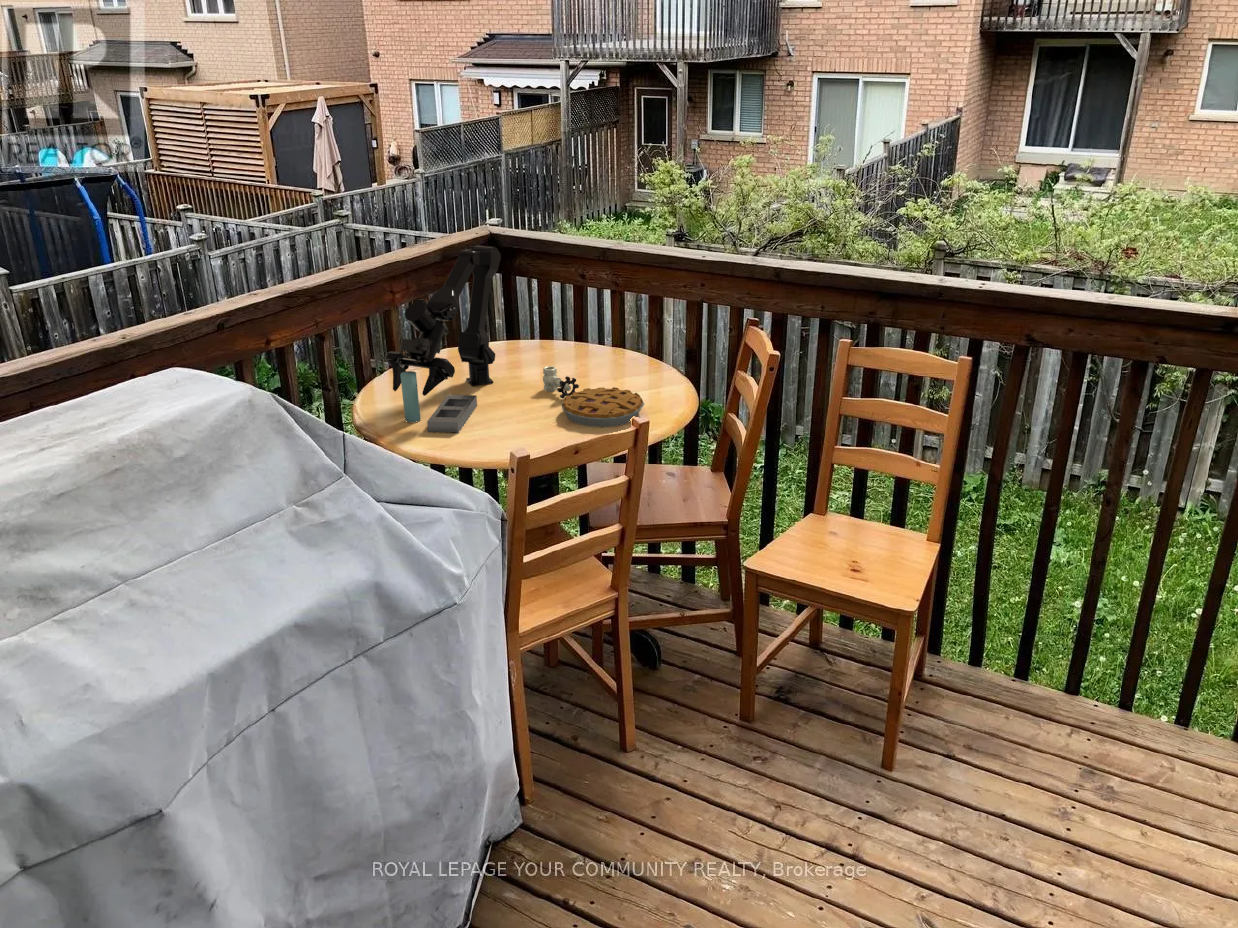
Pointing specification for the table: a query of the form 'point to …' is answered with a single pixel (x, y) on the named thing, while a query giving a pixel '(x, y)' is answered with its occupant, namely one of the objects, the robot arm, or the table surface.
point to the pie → (602, 407)
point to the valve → (557, 382)
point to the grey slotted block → (452, 413)
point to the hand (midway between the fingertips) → (408, 392)
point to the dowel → (410, 396)
